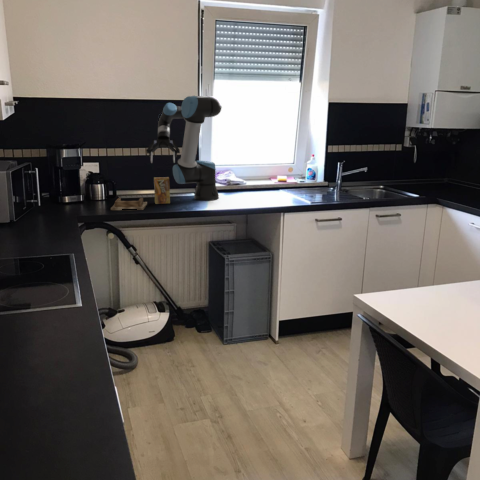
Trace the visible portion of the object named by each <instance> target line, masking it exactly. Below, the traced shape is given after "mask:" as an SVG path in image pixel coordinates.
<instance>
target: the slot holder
mask: <svg viewBox="0 0 480 480" xmlns="http://www.w3.org/2000/svg"><path fill="white" fill-rule="evenodd" d="M146 206H148V201H144V197H140V198H139V199H138V200H122V198H121V197H118V198H117V199H116V200H115V201H114V204H113V205H112V206H111V207H110V211H123V210H122V209H137V210H136V211H143V210H144V209H146Z"/></svg>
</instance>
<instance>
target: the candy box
mask: <svg viewBox="0 0 480 480" xmlns="http://www.w3.org/2000/svg"><path fill="white" fill-rule="evenodd" d="M153 186H154V188H153V189H154V203H155V205H160V204H161V205H162V204H171V190H170V189H171V187H170V186H171V185H170V177H169V176H165V177H164V176H163V177H160V176H159V177H153Z"/></svg>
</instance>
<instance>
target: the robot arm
mask: <svg viewBox="0 0 480 480" xmlns="http://www.w3.org/2000/svg"><path fill="white" fill-rule="evenodd" d="M222 108H223V107H222V103H221V101H220V100H219V99H218V98H217V97H215V96H212V95H188V96H185V98H183V100H182V103H181V106H179V105H176V104H174V103H172V102H167V103H165V104H164V106H163V108H162V109H163V110H162V111H161V113H162V114H161V113H160V114H161V116H160V118H159V117H158V118H159V121H158V120H157V123H158V124H157V138H156V139H152V140H151V143H150V144H149V146H148V147H147V148H146V150H145V151H146V154H149V155H148V158H149V159H150V163H151V164H153V158H154V157H153V156H154V155H153V153H155V151H156V150H158V149H159V148H166V147H167V148H168V149H169V150H170V151H172V152H173V156H172V161H173V164H174V165H173V166H172V175H173V178H174V180H175V182H176V183H177V184H179V185H183V184H184V185H185V184H186V185H187V184H196V188H195V192H194V195H193V198H194V200H197V201H214V200H218V199H219V196H220V195H219V192H218V189H217V186H216V184H217V183H216V181H217V180H216V177H217V176H216V170H217V169H216V164H215V162H213V161H208V160H196V158H197V152H198V146H199V140H200V133H201V128H202V127H201V126H202V124H204V123H205V120H206V118H213V117H216V116H218V115H219V114H220V113H221V111H222ZM175 119H177V120H178V119H183V120H184V121H185V127H184V132H183V133H184V135H183V139H182V141H183V142H182V147H181V150H180V148H179V146H178V145H177V143H176V142H175V141H176V140H175V139H172V140H170V139H171V124H172V122H173V120H175ZM171 144H172V145H171ZM180 151H181V152H180ZM180 153H181V155H180V158H179V159H177V163H176V158H177V157H178V156H177V155H178V154H180ZM175 163H176V164H175Z"/></svg>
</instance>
